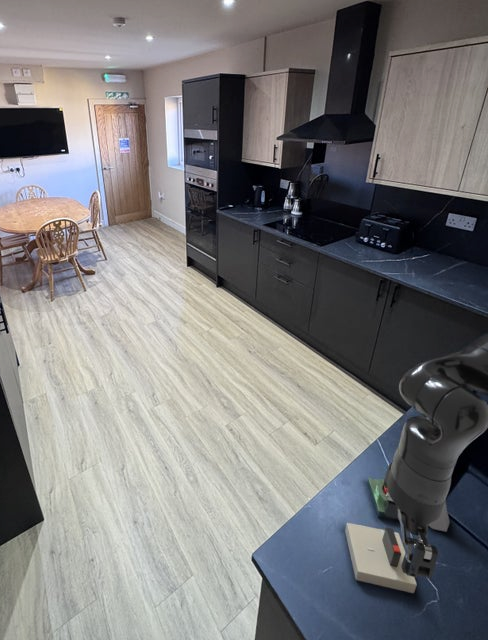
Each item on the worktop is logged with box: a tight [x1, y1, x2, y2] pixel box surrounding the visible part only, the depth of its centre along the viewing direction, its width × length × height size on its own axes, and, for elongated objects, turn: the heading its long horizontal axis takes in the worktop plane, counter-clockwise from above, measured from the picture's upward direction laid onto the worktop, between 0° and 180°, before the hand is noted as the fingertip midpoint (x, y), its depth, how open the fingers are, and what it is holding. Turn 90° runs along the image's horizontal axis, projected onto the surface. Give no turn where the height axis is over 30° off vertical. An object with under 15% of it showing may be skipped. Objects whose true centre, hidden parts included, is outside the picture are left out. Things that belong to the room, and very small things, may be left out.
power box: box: [366, 477, 400, 522], centre depth 81 cm, size 8×8×4 cm
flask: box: [428, 490, 451, 533], centre depth 77 cm, size 7×7×10 cm
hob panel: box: [344, 522, 418, 594], centre depth 70 cm, size 12×9×3 cm
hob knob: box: [382, 526, 401, 567], centre depth 69 cm, size 5×1×5 cm, turn 169°
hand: (399, 541), depth 58 cm, fingers open, 8 cm apart
